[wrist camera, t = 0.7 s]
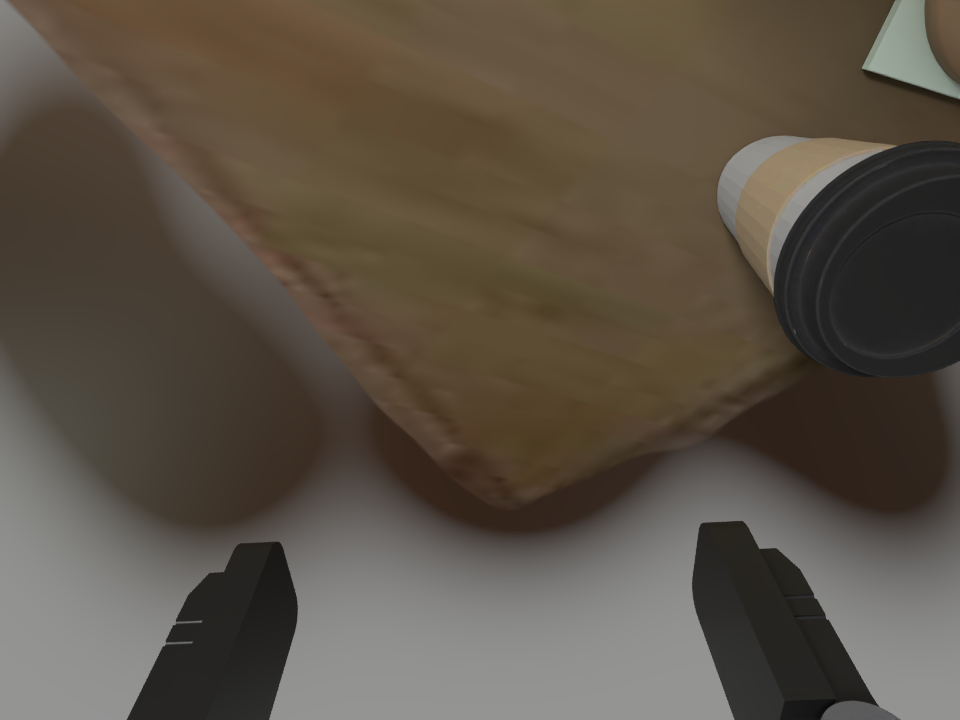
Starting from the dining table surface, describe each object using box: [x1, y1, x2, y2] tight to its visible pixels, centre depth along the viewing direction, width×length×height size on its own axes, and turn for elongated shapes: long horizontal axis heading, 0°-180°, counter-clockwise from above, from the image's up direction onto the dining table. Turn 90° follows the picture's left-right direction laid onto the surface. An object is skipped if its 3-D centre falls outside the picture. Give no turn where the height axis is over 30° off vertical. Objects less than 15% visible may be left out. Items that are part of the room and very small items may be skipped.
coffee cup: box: [717, 136, 960, 378], centre depth 30 cm, size 9×9×15 cm
